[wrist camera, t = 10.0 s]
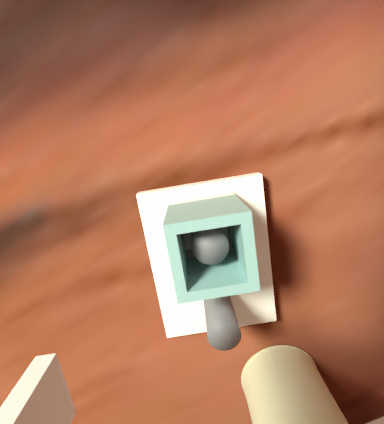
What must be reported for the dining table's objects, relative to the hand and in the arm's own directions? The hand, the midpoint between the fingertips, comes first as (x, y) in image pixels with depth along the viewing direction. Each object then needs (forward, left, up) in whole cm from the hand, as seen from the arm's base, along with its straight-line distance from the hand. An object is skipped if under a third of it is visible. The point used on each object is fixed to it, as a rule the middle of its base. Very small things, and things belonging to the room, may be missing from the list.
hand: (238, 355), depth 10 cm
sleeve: (0, 0, -17) cm, 17 cm away
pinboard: (+4, 0, -19) cm, 19 cm away
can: (+21, +6, -19) cm, 29 cm away
